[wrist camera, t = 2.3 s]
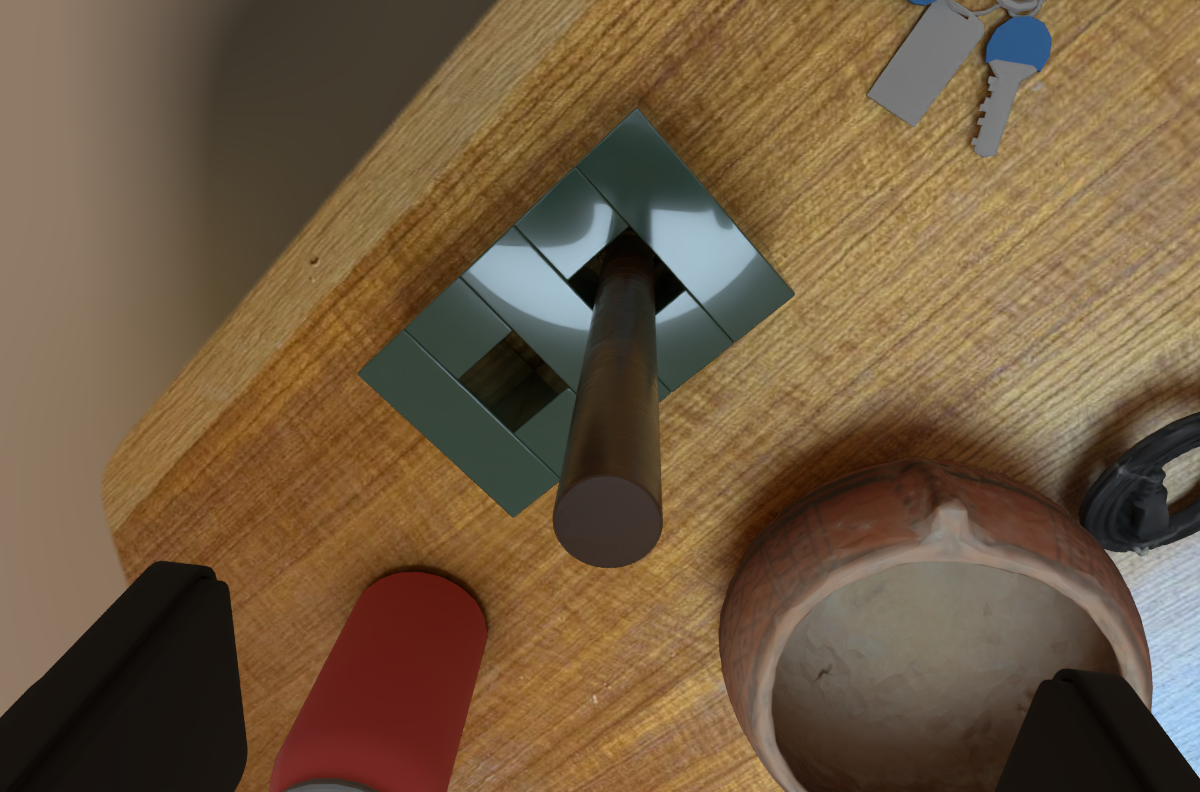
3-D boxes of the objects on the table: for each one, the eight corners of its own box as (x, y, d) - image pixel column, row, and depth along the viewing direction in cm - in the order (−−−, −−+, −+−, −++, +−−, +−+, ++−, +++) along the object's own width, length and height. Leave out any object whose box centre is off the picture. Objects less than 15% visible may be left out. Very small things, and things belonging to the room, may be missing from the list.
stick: (604, 262, 32) (548, 562, 13) (609, 217, 31) (556, 468, 13) (650, 267, 32) (655, 574, 13) (655, 222, 31) (669, 481, 13)
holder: (533, 444, 35) (513, 519, 30) (403, 319, 33) (355, 374, 28) (769, 250, 31) (796, 295, 26) (638, 94, 29) (636, 106, 24)
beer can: (354, 557, 38) (237, 765, 27) (492, 572, 38) (430, 787, 27) (358, 664, 41) (253, 894, 30) (487, 678, 41) (429, 913, 30)
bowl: (919, 345, 32) (1027, 465, 23) (1132, 578, 36) (1296, 758, 27) (641, 567, 37) (640, 737, 28) (855, 750, 41) (914, 951, 32)
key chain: (1211, -194, 25) (1229, -202, 24) (1222, 76, 28) (1238, 78, 27) (767, -26, 27) (770, -27, 26) (821, 206, 30) (826, 210, 29)
